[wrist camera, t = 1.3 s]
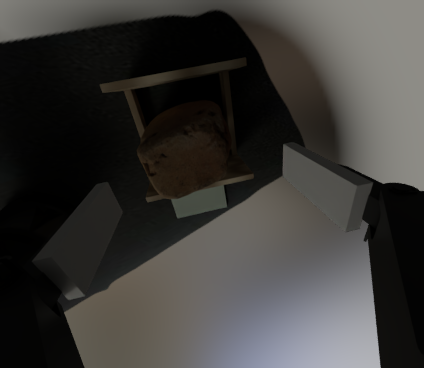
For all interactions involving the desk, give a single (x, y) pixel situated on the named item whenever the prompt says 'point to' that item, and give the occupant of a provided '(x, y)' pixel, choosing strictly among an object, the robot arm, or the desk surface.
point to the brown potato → (185, 148)
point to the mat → (200, 201)
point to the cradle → (235, 164)
